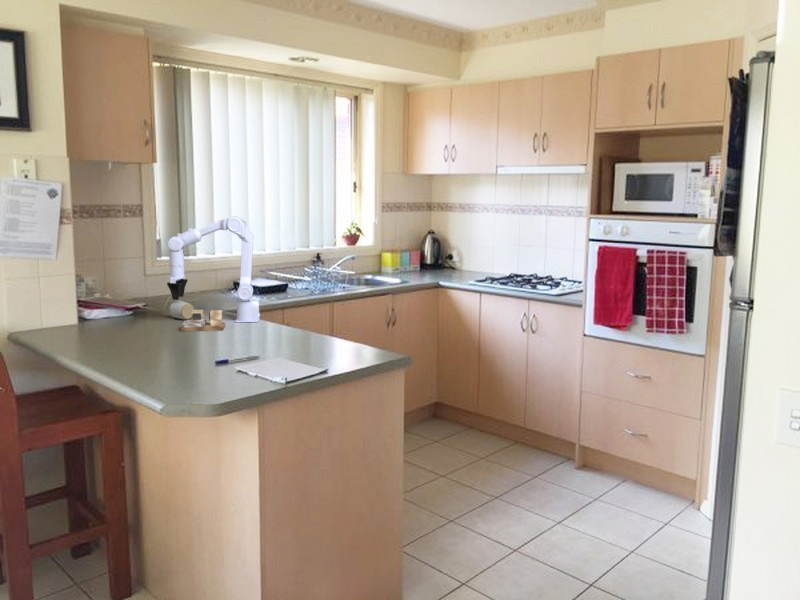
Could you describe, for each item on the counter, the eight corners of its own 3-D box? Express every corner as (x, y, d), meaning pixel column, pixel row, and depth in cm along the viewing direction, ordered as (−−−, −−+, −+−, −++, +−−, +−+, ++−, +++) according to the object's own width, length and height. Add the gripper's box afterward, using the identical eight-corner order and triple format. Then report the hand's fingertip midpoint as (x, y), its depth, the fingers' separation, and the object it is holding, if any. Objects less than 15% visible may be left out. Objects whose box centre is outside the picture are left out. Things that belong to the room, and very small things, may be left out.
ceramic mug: (181, 321, 285) (181, 303, 284) (169, 318, 290) (169, 301, 289) (202, 318, 294) (201, 300, 293) (189, 315, 298) (189, 298, 297)
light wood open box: (225, 326, 278) (224, 309, 276) (223, 330, 269) (222, 313, 268) (184, 326, 275) (184, 309, 274) (180, 331, 266) (180, 313, 265)
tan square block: (193, 322, 283) (193, 309, 282) (203, 322, 283) (203, 309, 283) (192, 325, 278) (191, 311, 277) (202, 325, 279) (201, 311, 278)
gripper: (171, 263, 287) (173, 295, 290) (161, 267, 273) (163, 301, 275) (188, 263, 288) (189, 295, 290) (179, 267, 274) (181, 301, 276)
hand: (178, 298), depth 283 cm, fingers open, 7 cm apart
